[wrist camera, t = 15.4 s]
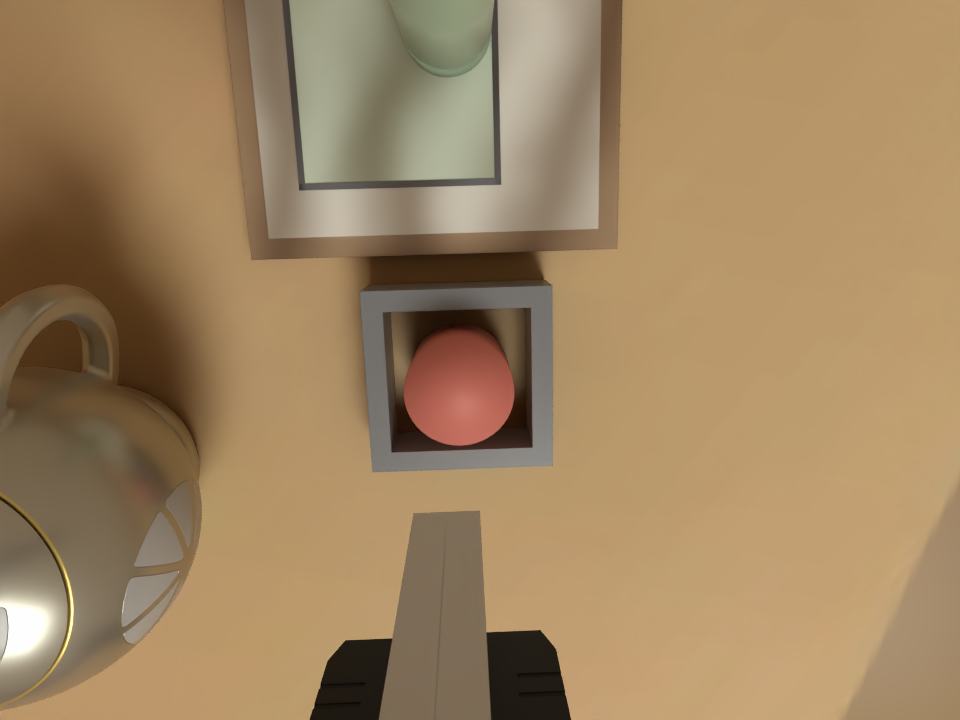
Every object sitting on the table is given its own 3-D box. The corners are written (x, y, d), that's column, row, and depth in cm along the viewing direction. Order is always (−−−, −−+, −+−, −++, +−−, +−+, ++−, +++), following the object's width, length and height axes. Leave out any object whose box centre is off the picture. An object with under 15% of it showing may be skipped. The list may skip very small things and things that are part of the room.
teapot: (225, 604, 36) (33, 913, 20) (-18, 552, 35) (-427, 836, 19) (283, 302, 32) (104, 386, 16) (12, 234, 31) (-467, 252, 15)
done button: (413, 420, 33) (406, 447, 29) (408, 325, 32) (400, 340, 28) (509, 416, 33) (515, 443, 29) (507, 322, 32) (513, 336, 28)
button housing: (380, 450, 34) (372, 472, 31) (369, 284, 32) (359, 291, 29) (545, 444, 34) (552, 465, 31) (544, 279, 32) (552, 285, 29)
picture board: (258, 258, 32) (249, 260, 30) (219, -102, 28) (208, -117, 27) (612, 247, 32) (618, 248, 31) (619, -111, 28) (626, -126, 27)
